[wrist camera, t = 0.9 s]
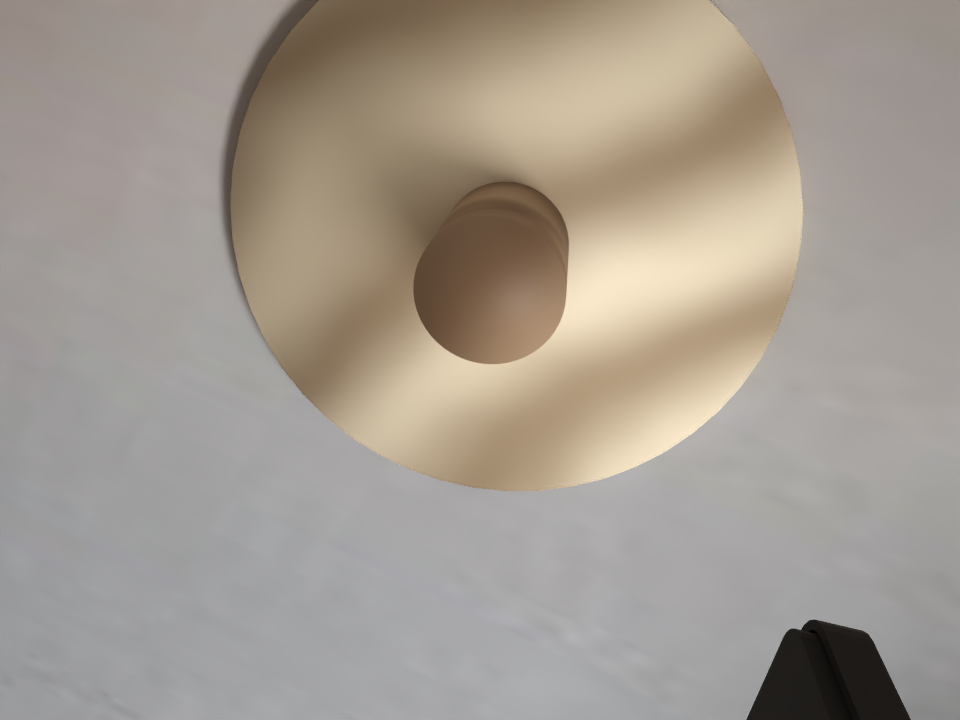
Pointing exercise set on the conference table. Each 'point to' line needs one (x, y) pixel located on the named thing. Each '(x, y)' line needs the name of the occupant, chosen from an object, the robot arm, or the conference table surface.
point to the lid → (516, 228)
